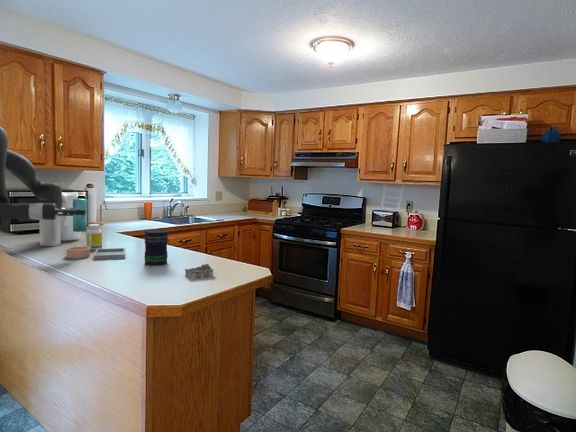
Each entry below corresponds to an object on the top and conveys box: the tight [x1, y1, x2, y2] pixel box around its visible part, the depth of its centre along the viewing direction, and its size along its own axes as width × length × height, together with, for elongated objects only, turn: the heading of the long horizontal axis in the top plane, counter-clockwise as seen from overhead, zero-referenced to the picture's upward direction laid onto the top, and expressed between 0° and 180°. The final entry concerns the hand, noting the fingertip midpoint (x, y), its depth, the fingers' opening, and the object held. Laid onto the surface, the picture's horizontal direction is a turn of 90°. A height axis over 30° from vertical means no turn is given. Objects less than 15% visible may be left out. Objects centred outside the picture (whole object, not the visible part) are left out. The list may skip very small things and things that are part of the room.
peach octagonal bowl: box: [65, 245, 91, 260], centre depth 163 cm, size 9×9×4 cm
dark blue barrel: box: [143, 229, 169, 267], centre depth 156 cm, size 10×10×15 cm
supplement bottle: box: [86, 223, 103, 251], centre depth 181 cm, size 7×7×13 cm
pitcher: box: [60, 191, 83, 242], centre depth 200 cm, size 24×17×28 cm
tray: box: [93, 247, 126, 261], centre depth 168 cm, size 16×13×2 cm
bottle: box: [73, 198, 88, 233], centre depth 161 cm, size 6×6×15 cm
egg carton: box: [184, 263, 214, 279], centre depth 140 cm, size 11×8×4 cm
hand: (85, 211), depth 162 cm, fingers closed on bottle, 5 cm apart
